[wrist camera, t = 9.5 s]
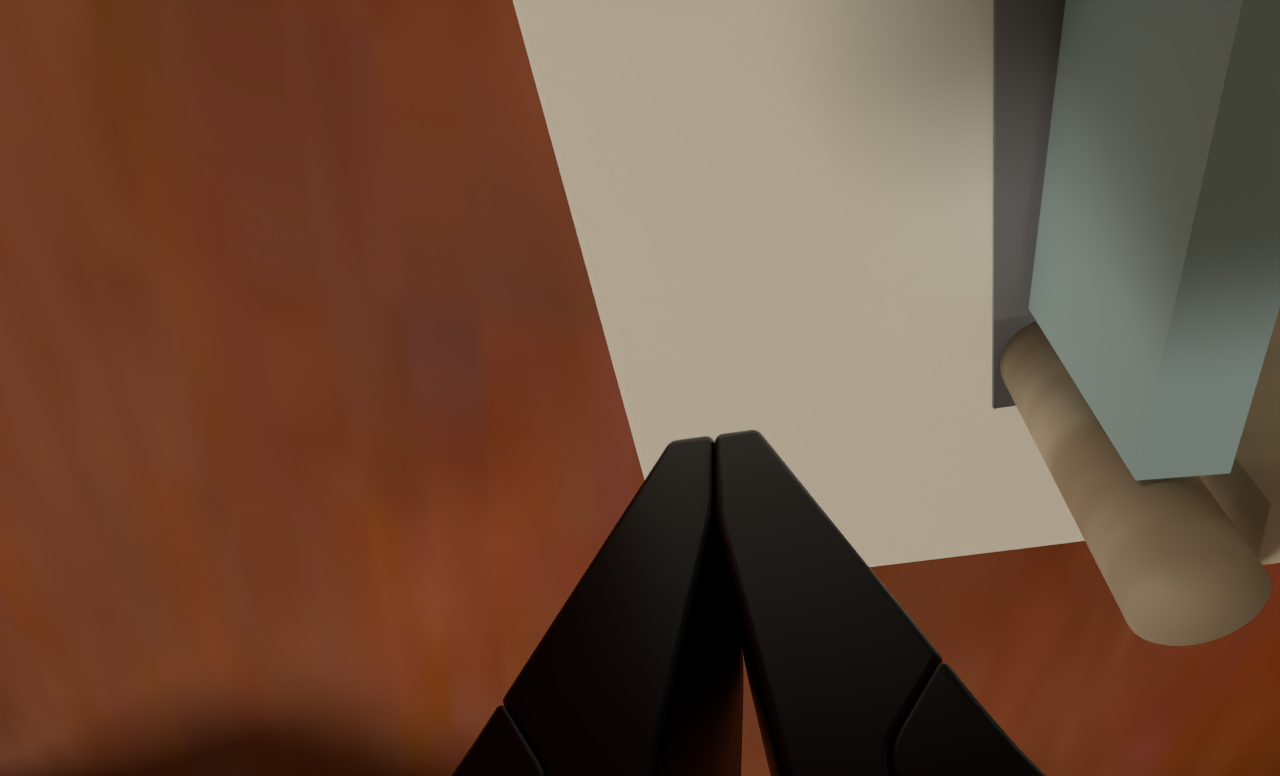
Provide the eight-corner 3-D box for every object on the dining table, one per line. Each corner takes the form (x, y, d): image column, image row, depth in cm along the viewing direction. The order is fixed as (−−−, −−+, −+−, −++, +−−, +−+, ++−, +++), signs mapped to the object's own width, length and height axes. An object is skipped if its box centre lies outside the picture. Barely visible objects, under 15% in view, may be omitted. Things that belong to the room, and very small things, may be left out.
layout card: (2814, -1239, 8) (2910, -1285, 7) (1778, 444, 18) (1798, 457, 18) (385, -483, 11) (376, -489, 11) (675, 581, 21) (675, 594, 21)
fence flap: (1117, 299, 16) (1295, 524, 11) (1010, 310, 16) (1143, 534, 12) (1290, -645, 10) (1854, -1002, 5) (1110, -609, 10) (1491, -922, 5)
